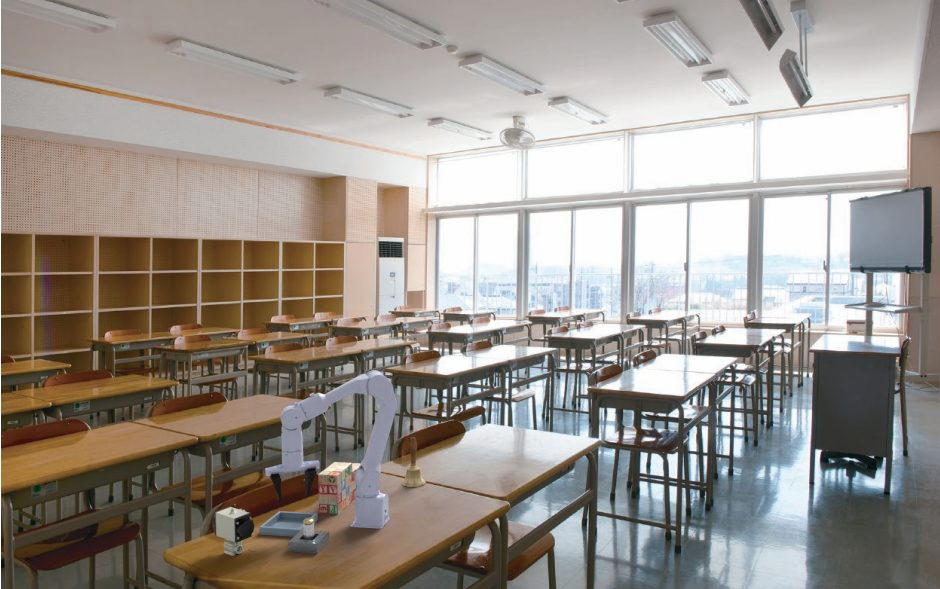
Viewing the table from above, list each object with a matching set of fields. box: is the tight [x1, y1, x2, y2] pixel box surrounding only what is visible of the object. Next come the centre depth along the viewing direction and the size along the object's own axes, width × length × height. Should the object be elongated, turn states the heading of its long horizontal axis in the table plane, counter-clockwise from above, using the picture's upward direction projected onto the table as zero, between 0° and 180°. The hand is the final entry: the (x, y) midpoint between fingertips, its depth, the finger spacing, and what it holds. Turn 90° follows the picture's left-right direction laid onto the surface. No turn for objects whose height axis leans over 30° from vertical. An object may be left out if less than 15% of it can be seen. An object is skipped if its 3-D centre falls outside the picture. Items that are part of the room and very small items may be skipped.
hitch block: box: [287, 530, 330, 554], centre depth 174 cm, size 8×8×3 cm
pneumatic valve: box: [211, 506, 255, 556], centre depth 171 cm, size 6×12×12 cm, turn 57°
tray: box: [258, 510, 319, 538], centre depth 186 cm, size 12×12×2 cm
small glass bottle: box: [303, 518, 315, 540], centre depth 173 cm, size 3×3×7 cm
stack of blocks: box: [317, 461, 361, 515], centre depth 208 cm, size 21×6×12 cm, turn 168°
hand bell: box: [401, 436, 426, 488], centre depth 224 cm, size 8×8×16 cm
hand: (293, 497), depth 183 cm, fingers open, 7 cm apart
